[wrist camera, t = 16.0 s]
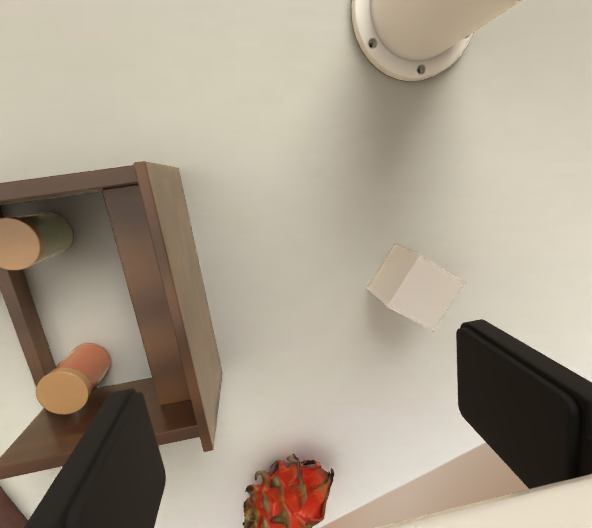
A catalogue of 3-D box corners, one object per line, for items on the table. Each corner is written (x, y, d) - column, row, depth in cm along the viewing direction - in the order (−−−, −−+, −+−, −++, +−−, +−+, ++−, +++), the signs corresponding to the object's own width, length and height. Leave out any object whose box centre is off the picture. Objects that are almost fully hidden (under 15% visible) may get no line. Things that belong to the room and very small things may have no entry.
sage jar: (18, 214, 34) (-29, 221, 28) (66, 208, 34) (30, 213, 28) (33, 259, 35) (-9, 274, 29) (79, 251, 35) (47, 265, 29)
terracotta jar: (62, 346, 37) (28, 377, 31) (105, 338, 38) (80, 367, 32) (74, 383, 38) (44, 419, 32) (116, 375, 39) (94, 409, 33)
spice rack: (-18, 194, 33) (-162, 202, 21) (178, 167, 35) (145, 160, 23) (57, 406, 38) (-24, 502, 27) (222, 373, 40) (213, 450, 29)
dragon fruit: (234, 482, 46) (314, 433, 48) (263, 553, 43) (347, 498, 45) (220, 496, 38) (317, 438, 40) (254, 585, 35) (357, 517, 37)
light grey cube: (394, 243, 40) (420, 254, 34) (434, 268, 41) (466, 282, 35) (366, 289, 40) (387, 306, 35) (407, 311, 42) (433, 332, 36)
